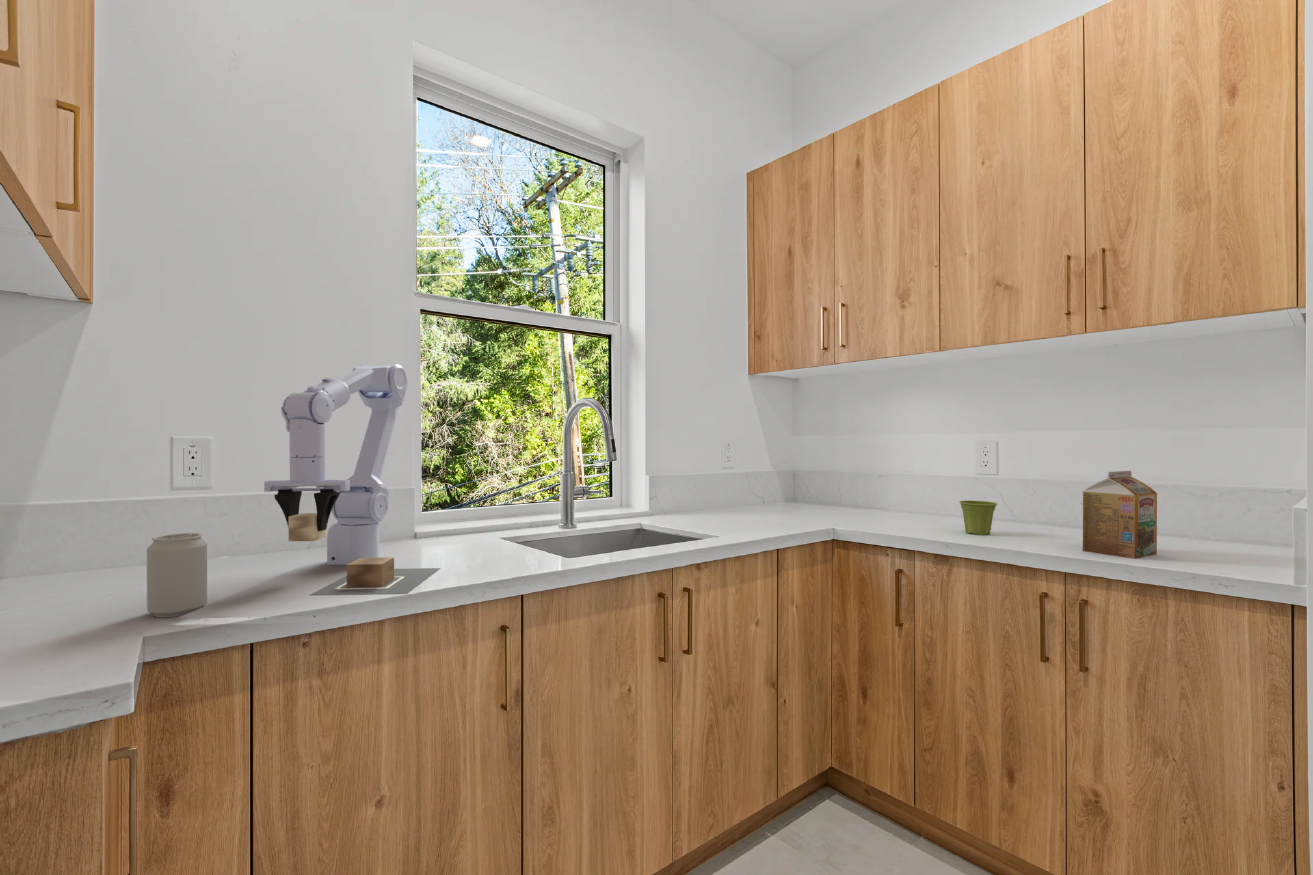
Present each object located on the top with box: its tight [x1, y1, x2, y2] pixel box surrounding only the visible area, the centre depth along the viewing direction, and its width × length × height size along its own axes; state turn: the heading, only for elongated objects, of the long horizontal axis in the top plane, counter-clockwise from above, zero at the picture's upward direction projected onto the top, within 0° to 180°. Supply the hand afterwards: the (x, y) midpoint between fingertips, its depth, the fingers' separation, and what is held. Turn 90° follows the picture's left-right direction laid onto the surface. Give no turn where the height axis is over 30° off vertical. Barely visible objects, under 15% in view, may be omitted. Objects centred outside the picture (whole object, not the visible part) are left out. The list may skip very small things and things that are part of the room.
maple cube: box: [288, 512, 327, 542], centre depth 116 cm, size 4×4×4 cm
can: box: [146, 532, 208, 618], centre depth 98 cm, size 8×8×12 cm
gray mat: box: [309, 567, 442, 596], centre depth 115 cm, size 16×20×1 cm
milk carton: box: [1082, 470, 1158, 560], centre depth 146 cm, size 11×11×19 cm
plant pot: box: [958, 500, 998, 536], centre depth 174 cm, size 9×9×9 cm
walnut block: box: [346, 556, 395, 587], centre depth 113 cm, size 6×6×4 cm
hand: (307, 530), depth 117 cm, fingers closed on maple cube, 4 cm apart
